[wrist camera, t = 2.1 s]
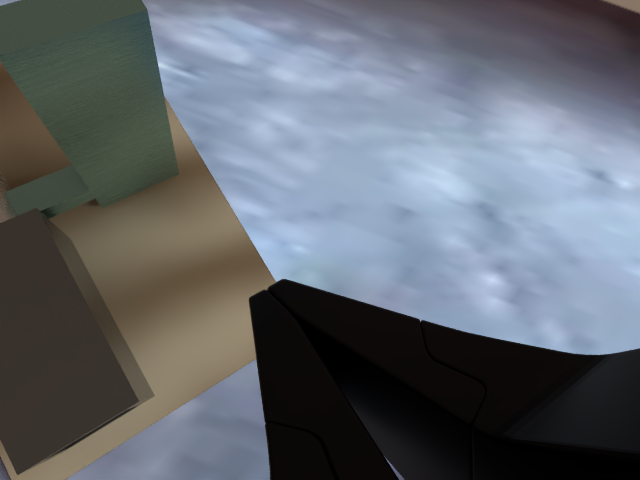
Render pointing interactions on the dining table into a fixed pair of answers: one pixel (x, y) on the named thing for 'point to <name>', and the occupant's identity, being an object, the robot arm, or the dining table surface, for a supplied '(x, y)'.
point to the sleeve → (56, 347)
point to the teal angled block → (88, 100)
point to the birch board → (149, 275)
